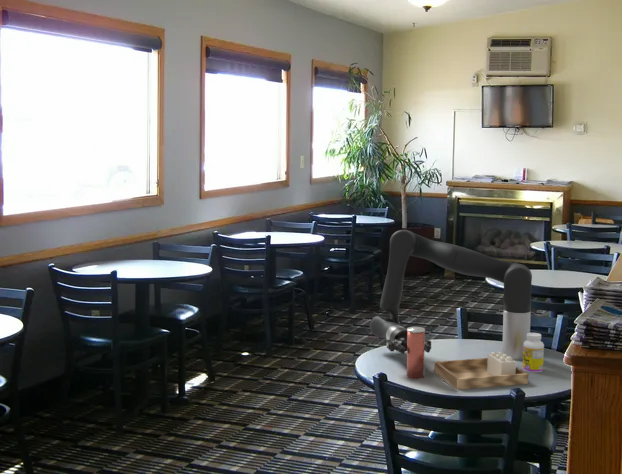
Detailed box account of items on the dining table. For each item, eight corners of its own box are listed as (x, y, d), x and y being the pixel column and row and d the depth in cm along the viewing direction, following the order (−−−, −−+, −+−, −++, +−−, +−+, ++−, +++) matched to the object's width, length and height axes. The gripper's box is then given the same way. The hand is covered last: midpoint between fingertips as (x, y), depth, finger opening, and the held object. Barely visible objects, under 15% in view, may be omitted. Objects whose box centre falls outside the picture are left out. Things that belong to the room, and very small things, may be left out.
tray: (499, 368, 273) (499, 357, 273) (527, 386, 254) (528, 373, 254) (433, 373, 268) (434, 361, 267) (457, 391, 249) (458, 379, 249)
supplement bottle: (519, 369, 273) (520, 331, 271) (538, 368, 273) (540, 331, 272) (526, 375, 266) (527, 337, 265) (546, 374, 267) (547, 336, 265)
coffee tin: (420, 373, 268) (421, 326, 266) (426, 378, 262) (427, 330, 260) (403, 374, 267) (404, 327, 265) (410, 379, 261) (410, 331, 259)
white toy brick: (501, 370, 268) (501, 349, 267) (515, 379, 259) (516, 357, 258) (487, 371, 267) (487, 350, 266) (500, 380, 257) (501, 358, 256)
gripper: (380, 328, 277) (395, 340, 261) (419, 326, 280) (437, 337, 264) (379, 349, 277) (395, 362, 262) (419, 347, 281) (436, 360, 265)
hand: (416, 350), depth 263 cm, fingers open, 8 cm apart
